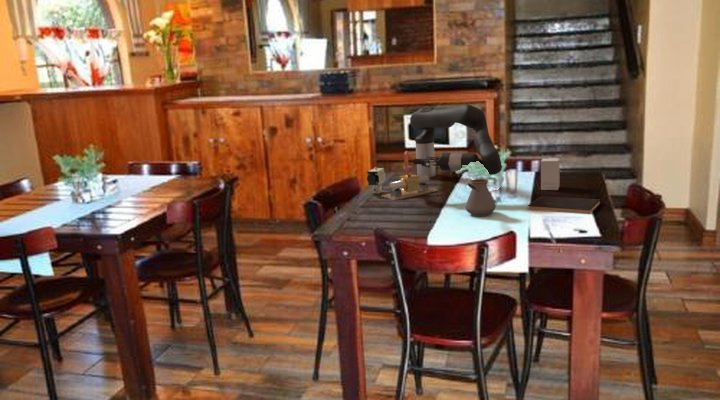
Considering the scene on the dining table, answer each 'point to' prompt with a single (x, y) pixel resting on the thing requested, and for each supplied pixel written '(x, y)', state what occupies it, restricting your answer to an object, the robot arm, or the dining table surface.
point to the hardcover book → (564, 204)
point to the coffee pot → (479, 199)
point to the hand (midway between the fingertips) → (414, 161)
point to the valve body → (409, 187)
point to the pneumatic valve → (376, 178)
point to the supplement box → (550, 174)
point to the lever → (407, 167)
